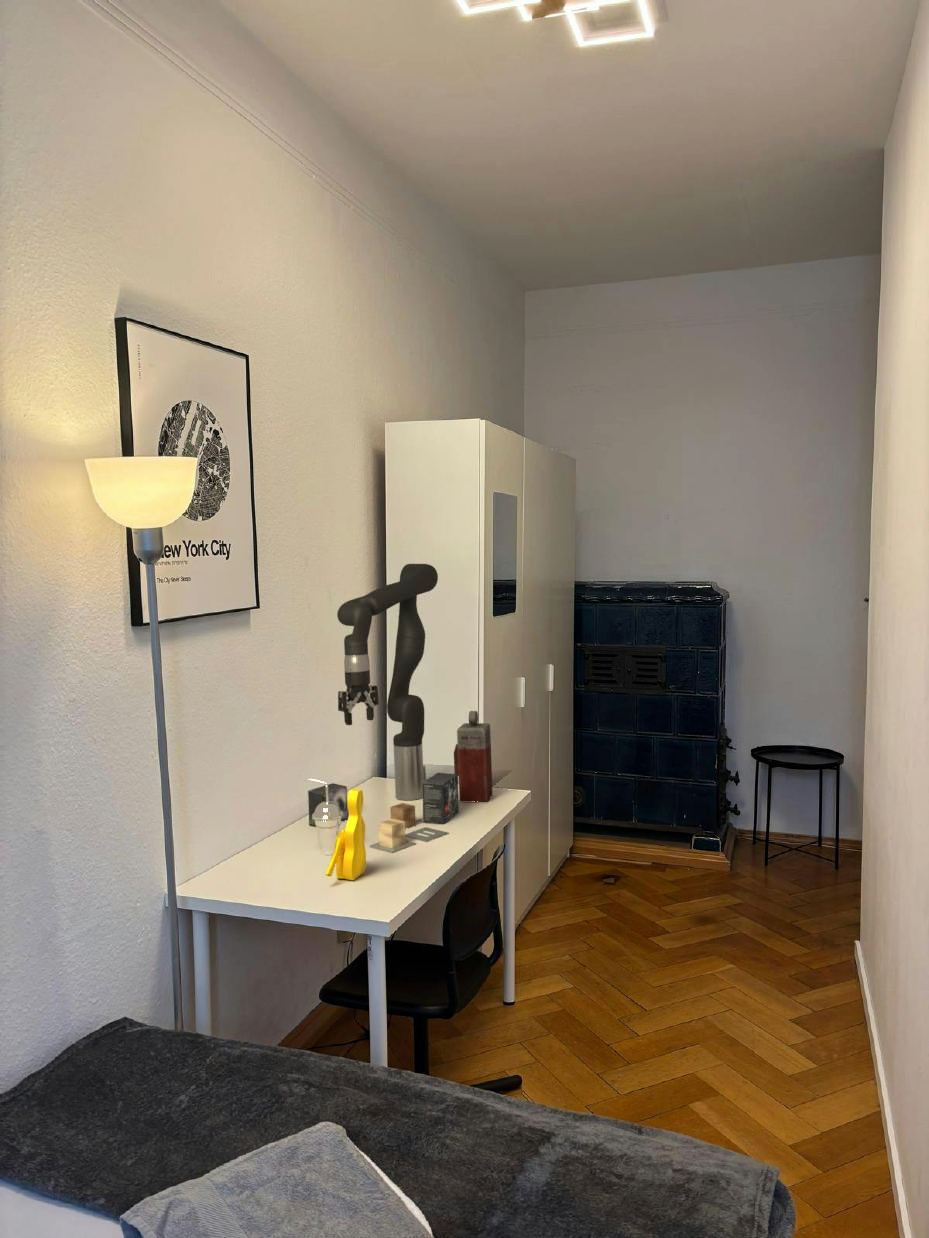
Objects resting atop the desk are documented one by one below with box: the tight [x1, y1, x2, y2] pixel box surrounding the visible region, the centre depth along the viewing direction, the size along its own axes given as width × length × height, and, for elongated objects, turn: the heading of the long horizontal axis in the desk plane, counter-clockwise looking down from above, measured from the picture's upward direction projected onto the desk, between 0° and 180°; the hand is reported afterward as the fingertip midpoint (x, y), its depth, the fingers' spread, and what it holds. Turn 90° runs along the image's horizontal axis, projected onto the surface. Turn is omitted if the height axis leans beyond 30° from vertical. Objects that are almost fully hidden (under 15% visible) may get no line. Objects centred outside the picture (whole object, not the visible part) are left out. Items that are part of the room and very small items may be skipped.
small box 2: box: [422, 772, 460, 825], centre depth 283 cm, size 13×7×12 cm, turn 161°
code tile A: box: [405, 826, 449, 843], centre depth 267 cm, size 9×9×1 cm
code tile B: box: [369, 840, 417, 854], centre depth 259 cm, size 9×9×1 cm
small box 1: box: [307, 782, 349, 828], centre depth 282 cm, size 11×6×10 cm, turn 143°
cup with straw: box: [307, 777, 344, 856], centre depth 254 cm, size 8×9×20 cm
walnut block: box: [389, 802, 416, 830], centre depth 276 cm, size 5×5×6 cm
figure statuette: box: [325, 788, 367, 881], centre depth 235 cm, size 18×8×22 cm, turn 159°
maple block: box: [378, 818, 407, 848], centre depth 258 cm, size 5×5×6 cm
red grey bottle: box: [453, 710, 493, 803], centre depth 302 cm, size 9×11×28 cm
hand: (359, 722), depth 288 cm, fingers open, 8 cm apart
